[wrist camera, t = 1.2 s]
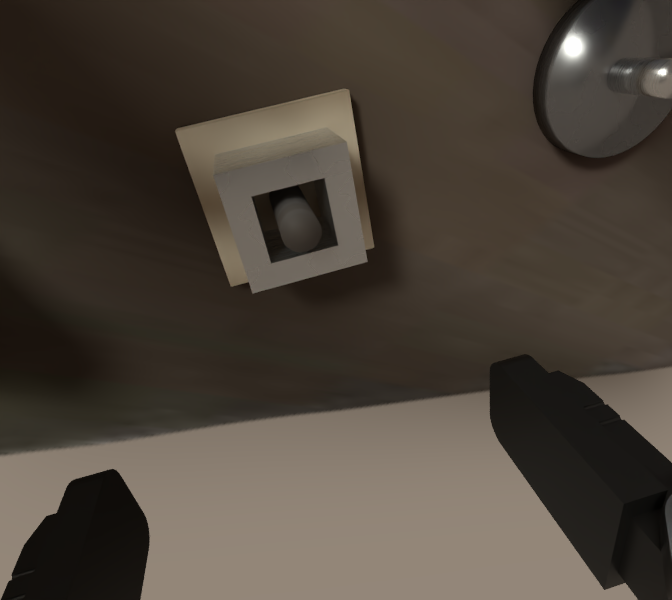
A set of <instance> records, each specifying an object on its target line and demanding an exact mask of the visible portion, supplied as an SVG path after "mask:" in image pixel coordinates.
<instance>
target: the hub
mask: <svg viewBox="0 0 672 600" xmlns="http://www.w3.org/2000/svg"><path fill="white" fill-rule="evenodd" d="M533 104H534V111H535V115H536V119H537V122H538V124H539V126H540V129H541V130H542V132H543V133H544V135H545V136H546V138H547V139H548V140H549V141H550V142H551V143H553V144H554V145H555V146H557V147H558V148H560V149H562V150H565V151H568V152H572V153H575V154H579V155H582V156H586V157H592V158H603V157H608V156H613V155H616V154H619V153H622V152H624V151H626V150H628V149H630V148H632V147H633V146H635V145H636V144H638V143H639V142H641V141H642V140H643V139H645V138H646V137H647V136H648V135H649V134H650V133H652V132H653V131H654V130H655V129H656V128H657V127H658V125H659V124H660V123H661V122H662V121H663V120H664V118H665V117H666V116H667V115H668V113H669V112H670V110H671V109H672V0H579V1H578V2H577V3H576V4H574V5H573V6H572V7H571V8H570V9H569V10H568V11H567V12H566V13H565V15H564V16H563V17H562V18H561V20H560V21H559V22H558V23H557V25H556V26H555V28H554V30H553V31H552V33H551V34H550V36H549V38H548V40H547V42H546V44H545V46H544V48H543V51H542V53H541V55H540V58H539V61H538V65H537V68H536V73H535V78H534V86H533Z"/></svg>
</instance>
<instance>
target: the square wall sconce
mask: <svg viewBox="0 0 672 600" xmlns="http://www.w3.org/2000/svg"><path fill="white" fill-rule="evenodd" d="M213 177H214V180H215V183H216V186H217V189H218V192H219V195H220V198H221V201H222V203H223V206H224V209H225V212H226V215H227V218H228V221H229V224H230V227H231V230H232V233H233V236H234V239H235V242H236V245H237V248H238V251H239V254H240V257H241V260H242V263H243V266H244V269H245V272H246V275H247V278H248V281H249V284H250V287H251V290H252V293H256V292H260V291H264V290H267V289H271V288H275V287H278V286H282V285H285V284H289V283H293V282H296V281H300V280H304V279H307V278H311V277H314V276H318V275H322V274H325V273H329V272H333V271H336V270H340V269H343V268H347V267H351V266H354V265H358V264H361V263H365V262H368V261H367V256H366V250H365V244H364V238H363V233H362V227H361V221H360V215H359V209H358V204H357V198H356V192H355V186H354V180H353V175H352V169H351V163H350V157H349V151H348V146H347V142H346V141H345V140H344V139H342V138H341V137H340V136H338V135H337V134H335V133H334V132H333V131H331V130H330V129H329V128H327V127H325V128H321V129H317V130H313V131H309V132H305V133H301V134H297V135H292V136H288V137H284V138H280V139H276V140H272V141H268V142H264V143H260V144H256V145H252V146H248V147H244V148H239V149H235V150H231V151H227V152H223V153H219V154H215V157H214V169H213ZM310 181H314V186H315V190H316V195H317V199H318V204H319V209H320V213H321V217H318V218H317V220H318V221H319V223H320V225H321V229H322V235H321V239H320V241H319V243H318V244H317V245H316V246H315V247H314V248H313V249H311V250H309V251H306V252H295V251H292V250H290V249H289V248H288V247H287V246H286V245H285V244H284V242H283V240H282V237H281V234H280V231H279V228H277V229H273V230H269V231H265V232H264V230H263V227H262V223H261V220H260V217H259V213H258V210H257V206H256V203H255V200H254V196H255V195H259V194H263V193H267V192H271V191H275V190H279V189H283V188H287V187H291V186H295V185H298V184H302V183H306V182H310Z"/></svg>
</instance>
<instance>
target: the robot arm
mask: <svg viewBox="0 0 672 600" xmlns="http://www.w3.org/2000/svg"><path fill="white" fill-rule="evenodd" d="M490 419H491V423H492V427H493V429H494V432H495V434H496V436H497V438H498V440H499V442H500V443H501V445H502V446H503V448H504V449H505V451H506V452H507V453H508V455H509V456H510V458H511V459H512V460H513V462H514V463H515V465H516V466H517V467H518V469H519V470H520V471H521V473H522V474H523V476H524V477H525V479H526V480H527V481H528V483H529V484H530V485H531V487H532V489H533V490H534V491H535V493H536V494H537V496H538V497H539V498H540V500H541V501H542V503H543V504H544V505H545V507H546V508H547V510H548V511H549V512H550V514H551V515H552V517H553V518H554V520H555V521H556V522H557V524H558V525H559V527H560V528H561V529H562V531H563V532H564V534H565V535H566V536H567V538H568V539H569V541H570V542H571V543H572V545H573V546H574V548H575V549H576V551H577V552H578V553H579V555H580V556H581V558H582V559H583V560H584V562H585V563H586V565H587V566H588V567H589V569H590V570H591V572H592V573H593V574H594V576H595V577H596V579H597V580H598V581H599V583H600V584H601V586H602V587H603V589H604V590H605V589H608V588H611V587H614V586H617V585H620V584H623V583H626V584H627V585H628V587H629V588H630V589H631V591H632V592H633V593H634V595H635V596H636V597H637V598H638V600H672V463H671V462H670V461H669V460H668V459H667V458H666V457H665V456H664V455H663V454H662V453H660V452H659V451H658V450H657V449H656V448H655V447H654V446H653V445H651V444H650V443H649V442H648V441H647V440H646V439H645V438H644V437H643V436H642V435H640V434H639V433H638V432H637V431H636V430H635V429H634V428H633V427H632V426H631V425H629V424H628V423H627V422H626V421H625V420H621V418H620V415H618V414H617V413H616V412H615V411H614V410H613V409H612V408H610V407H609V406H608V405H605V404H604V402H603V400H602V399H601V398H599V396H597V395H596V394H595V393H594V392H593V391H592V390H591V389H590V388H589V387H587V386H586V385H585V384H584V383H583V382H581V381H578V380H576V379H574V378H572V377H570V376H568V375H566V374H564V373H562V372H560V371H555V372H552V373H548V372H547V371H546V370H545V369H544V368H543V367H542V366H541V365H540V364H539V363H537V362H536V361H535V360H534V359H533V358H532V357H531V356H529V355H527V354H524V355H520V356H517V357H513V358H510V359H506V360H503V361H499V362H496V363H493V364H492V365H491V367H490ZM148 550H149V528H148V523H147V520H146V517H145V515H144V513H143V511H142V510H141V508H140V507H139V505H138V503H137V502H136V500H135V498H134V497H133V495H132V493H131V492H130V490H129V489H128V487H127V485H126V484H125V482H124V480H123V479H122V477H121V476H120V474H119V473H118V472H117V471H116V470H114V469H111V470H107V471H103V472H100V473H96V474H93V475H89V476H85V477H82V478H79V479H75V480H73V481H71V482H70V483H69V485H68V486H67V488H66V491H65V493H64V496H63V498H62V501H61V503H60V506H59V509H58V511H57V513H56V514H52V515H49V516H46V517H45V519H44V520H43V521H42V523H41V524H40V525H39V526H38V528H37V529H36V530H35V532H34V533H33V534H32V535H31V537H30V538H29V539H28V541H27V542H26V543H25V545H24V547H23V549H22V551H21V554H20V556H19V558H18V561H17V563H16V566H15V568H14V570H13V573H12V580H11V581H9V582H8V584H7V586H6V589H5V591H4V594H3V596H2V598H1V600H140V598H141V592H142V586H143V580H144V574H145V568H146V562H147V556H148Z"/></svg>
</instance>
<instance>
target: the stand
mask: <svg viewBox="0 0 672 600" xmlns="http://www.w3.org/2000/svg"><path fill="white" fill-rule="evenodd" d="M325 127H327V128H329V129H330V130H331V131H333V132H334V133H335V134H337V135H338V136H340V137H341V138H342V139H344V140H345V141H346V142H347V146H348V151H349V157H350V163H351V169H352V175H353V180H354V186H355V192H356V198H357V204H358V209H359V215H360V221H361V227H362V233H363V238H364V244H365V250H368V249H371V248H374V242H373V236H372V230H371V223H370V217H369V211H368V205H367V198H366V192H365V186H364V180H363V174H362V167H361V161H360V155H359V149H358V143H357V136H356V130H355V124H354V118H353V112H352V105H351V99H350V93H349V90H348V89H340V90H336V91H332V92H328V93H324V94H319V95H315V96H311V97H307V98H303V99H298V100H294V101H290V102H286V103H282V104H277V105H273V106H269V107H265V108H261V109H256V110H252V111H248V112H244V113H240V114H235V115H231V116H227V117H223V118H219V119H214V120H210V121H206V122H202V123H198V124H193V125H189V126H185V127H181V128H177V129H176V131H175V133H176V136H177V138H178V141H179V144H180V147H181V150H182V152H183V155H184V158H185V161H186V163H187V166H188V169H189V172H190V175H191V177H192V180H193V183H194V186H195V188H196V191H197V194H198V197H199V200H200V202H201V205H202V208H203V211H204V213H205V216H206V219H207V222H208V225H209V227H210V230H211V233H212V236H213V238H214V241H215V244H216V247H217V250H218V252H219V255H220V258H221V261H222V263H223V266H224V269H225V272H226V274H227V277H228V280H229V283H230V286H231V287H232V286H236V285H240V284H243V283H247V282H249V281H248V278H247V275H246V272H245V269H244V266H243V263H242V260H241V257H240V254H239V251H238V248H237V245H236V242H235V239H234V236H233V233H232V230H231V227H230V224H229V221H228V218H227V215H226V212H225V209H224V206H223V203H222V201H221V198H220V195H219V192H218V189H217V186H216V183H215V180H214V177H213V169H214V157H215V154H219V153H223V152H227V151H231V150H235V149H239V148H244V147H248V146H252V145H256V144H260V143H264V142H268V141H272V140H276V139H280V138H284V137H288V136H292V135H297V134H301V133H305V132H309V131H313V130H317V129H321V128H325ZM254 200H255V203H256V206H257V210H258V213H259V217H260V220H261V223H262V227H263V230H264V232H265V231H269V230H273V229H277V228H279V231H280V234H281V237H282V240H283V242H284V244H285V245H286V246H287V247H288V248H289V249H290V250H292V251H295V252H306V251H309V250H311V249H313V248H314V247H315V246H316V245H317V244H318V243H319V241H320V239H321V235H322V229H321V225H320V223H319V221H318V220H317V218H318V217H321V213H320V209H319V204H318V199H317V195H316V190H315V186H314V181H310V182H306V183H302V184H298V185H295V186H291V187H287V188H283V189H279V190H275V191H271V192H267V193H263V194H259V195H255V196H254Z"/></svg>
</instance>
